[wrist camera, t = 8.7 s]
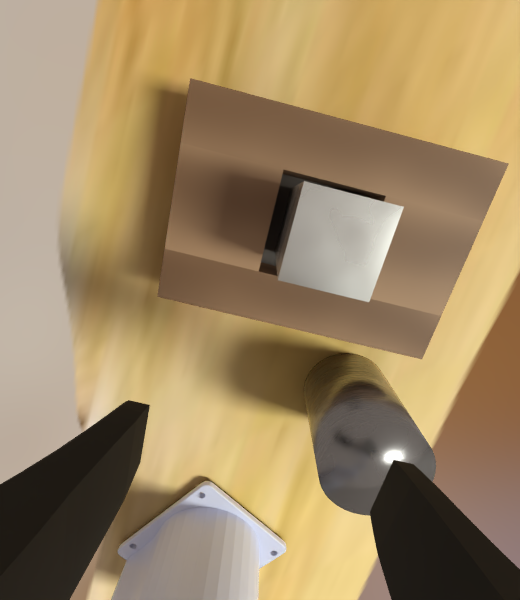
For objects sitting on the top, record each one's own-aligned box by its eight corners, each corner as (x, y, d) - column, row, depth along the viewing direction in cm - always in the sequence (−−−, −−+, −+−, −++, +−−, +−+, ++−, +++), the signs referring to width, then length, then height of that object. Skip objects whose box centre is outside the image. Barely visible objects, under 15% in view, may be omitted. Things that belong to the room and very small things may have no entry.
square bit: (334, 267, 17) (369, 302, 11) (274, 252, 16) (277, 279, 11) (354, 204, 16) (404, 206, 10) (291, 188, 15) (304, 181, 10)
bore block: (401, 338, 18) (422, 359, 15) (172, 283, 17) (157, 296, 15) (471, 169, 15) (508, 163, 13) (203, 98, 15) (190, 78, 12)
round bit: (369, 431, 20) (409, 525, 14) (294, 414, 20) (304, 502, 14) (397, 364, 18) (455, 438, 13) (317, 345, 18) (339, 412, 12)
